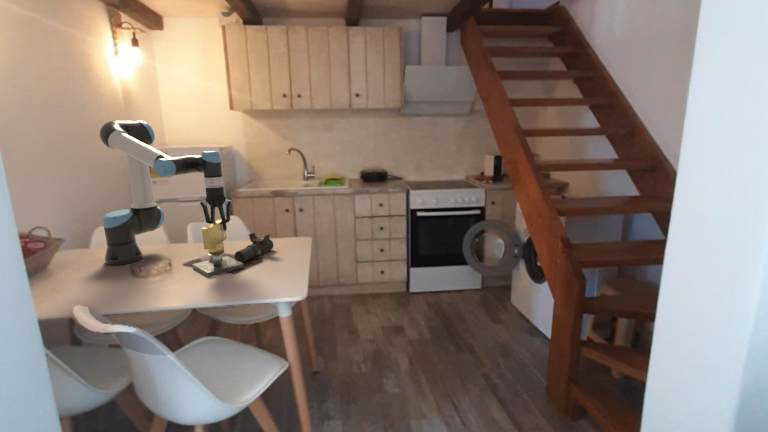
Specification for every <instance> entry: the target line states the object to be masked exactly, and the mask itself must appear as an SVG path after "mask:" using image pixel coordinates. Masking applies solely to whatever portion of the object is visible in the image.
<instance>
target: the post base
mask: <svg viewBox="0 0 768 432" xmlns="http://www.w3.org/2000/svg"><path fill="white" fill-rule="evenodd" d="M207 258H208V260H204V261H200V262H195V263H192V268H193V270H195V271H197V272H198V273H200V274H202V275H203V276H205V277H207V278H210V277H215V276H218V275H222V274H226V273H230V272H233V271H237V270H241V269H244V267H245V266H244V262H242V263H241V262H239V261H237V260H236V259H235V258H233V257H231V256H228V255H224V256H223V253H222V254H218V255H211V254H209V253H208V254H207Z"/></svg>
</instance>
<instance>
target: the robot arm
mask: <svg viewBox="0 0 768 432" xmlns="http://www.w3.org/2000/svg"><path fill="white" fill-rule="evenodd" d="M99 139H100V141H101V142H102V144H104V146H106V147H107V148H109V149H110V150H113V151H115V152H116V151H117V152H118V151H119V152H122V153H124V154H126V159H127V166H128V167H127V168H128V173H129V174H128V175H129V181H130V187H131V189H130V190H131V196H132V202H133V203H132V204H131V205H130V206H129V209H125V208H123V209H120V210H117V209H116V210H114V211H111V212H109V213H108V212H107V213H105V214H104V215H103V218H102V226H103V228H104V235H105V240H106V246H107V247H106V251H105V256H104V262H105V264H106V265H108V266H122V265H123V266H124V265H129V264H132V263H135V261H136V262H138V261H140V260H142V259H143V252H142V251H141V249H140V247H139V246H138V244H137V241H136V236H138V235H142V234H145V233H149V232H153V231H155V230H158V229H160V228H161V227H162V226H163V225H164V223H165V213H164V212H163V210H162V208H161V207H160V206H158V203H157V202H155V201H154V196H153V189H152V182H151V181H152V180H151V173H150V171H151V170H150V167H151V168H153V172H154V173H155V174H156V175H157V176H159V177H161V178H169V177H174V176H181V175H188V174H194V173H196V174H197V173H201V174H202V173H203V180H204V186H205V196H206V197H205V200H203V201H201V202H200V203H199V204H200V206H201V207H202V210H203V215H204V218H205V223H206V224H208V225H210V224H212V223H214V222H215V221H216V208H217V209H218V212H219V216H220V220H222V231H223V238H225V235H224V231H227V229H228V228H227V224H228V223H229V222H230V221H231V207H232V206H231V205H232V203H233V200H232V199H228V198H227V197H226V196H225V187H224V178H223V170H222V169H223V167H222V159H221V153H220V151H218V150H205V151H201V155H197V154H196V155H194V154H188V155H183V156H174V157H172V156H170V155H168V154H166V153H163V152H162V151H160V150H157V149H156V148H154V147H152V146H151V145H152V144H154V141H155V132H154V130H153V128H152V126H151V125H150V124H149V123H148V122H146V121H144V120H137V119H134V120H132V119H131V120H111V121H108V122H105V123H104V124H103V125H102V126H101V128H100V130H99ZM224 204H225V205H226V209H225V210H226V215H225V210H224ZM207 205H209V206H210V207H209V209H210V214H209V209H208V206H207Z"/></svg>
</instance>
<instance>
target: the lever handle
mask: <svg viewBox="0 0 768 432" xmlns="http://www.w3.org/2000/svg"><path fill="white" fill-rule="evenodd" d="M226 231H227V230H226ZM226 231H224V235H225V238H223V231H222V220H221V219H217V220H215V222H214V223H212V224H208V225H206V226H204V227H202V228H201V233H202V240H203V241H202V242H203V249H204V250H208V254H211V255H218V254H222V255H223V254H224V253H225V245H224V244H225V243H224V241H226V240H227V232H226Z"/></svg>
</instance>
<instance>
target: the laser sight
mask: <svg viewBox="0 0 768 432" xmlns="http://www.w3.org/2000/svg"><path fill="white" fill-rule="evenodd" d="M248 236H249V237H248V238H249V240H250V242H251V244H249V245H247V246H246V247H245V248H242V249H240V250H238V251H236V252H235V253H234V259H235V260H237V261H239V262H241V263H244V262H246V261H249V260H251V259H255V258H257V257H260V256H262V255H264V254H266V253H268V252H269V251H271V250H273V248H274V241H272V239H270V236H271V235H270V234H266V235H264V236H263V238H259V237H257V236H256V234H255V232H252V233H249V234H248Z"/></svg>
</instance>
